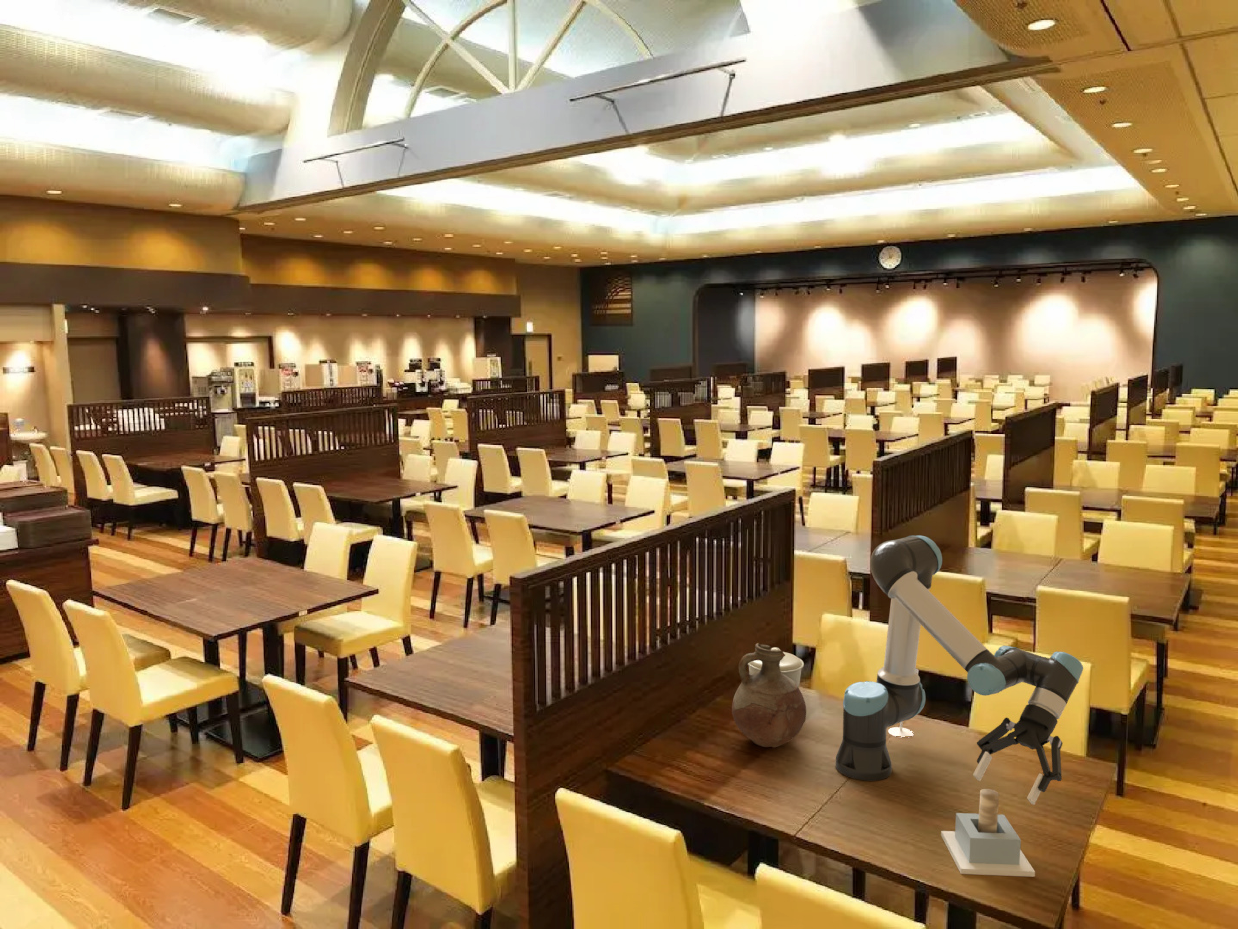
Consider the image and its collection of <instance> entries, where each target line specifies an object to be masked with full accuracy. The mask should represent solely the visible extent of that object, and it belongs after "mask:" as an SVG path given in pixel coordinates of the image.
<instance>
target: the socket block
mask: <svg viewBox="0 0 1238 929" xmlns="http://www.w3.org/2000/svg"><path fill="white" fill-rule="evenodd" d="M978 822H979V813H967V812H966V813H965V812H955V829H954V831H953V830H952V831H951V830H941V831H940V833H941V834H940V837H941V838H942V840H943V841H944V842H943V843H944V844H945V846H946V848H947V850H948V852H949V853H950V855H951V857H952V860H953V861H954V864H955V865H956V867H957V869H958V871H959V873H960V875H978V876H979V875H980V876H981V875H983V876H1002V877H1003V876H1007V877H1009V876H1010V877H1036V871H1035V870H1034V868H1033V867H1032V865H1031V863H1030V862H1029V861H1028V859H1027V857H1026V856H1025V854H1024V853H1023V851H1022V850H1021V846H1022V845H1021V844H1022V840H1021V838H1020V836H1019V835H1018V833H1017V832H1016V830H1015V829H1014V828H1013V826H1012V825H1011V823H1010V822H1009V820H1008V818H1007V817H1006V816H1005V814H999V813H998V820H997V833H979V832H978Z"/></svg>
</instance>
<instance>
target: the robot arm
mask: <svg viewBox="0 0 1238 929" xmlns="http://www.w3.org/2000/svg"><path fill="white" fill-rule="evenodd" d="M942 565H943V556H942V552H941V549H940V547H939V546H938V545H937V544H936V543H935V541H933V540H932V539H931V538H929V537H928V536H924V535H908V536H906V537H902V538H898V539H892V540H886V541H883V542H882V543H880V544H879V545H877V546H876V547H875V548H874V549H873V552H872V553H871V556H870V559H869V568H870V572H871V576H872V577H873V579H874V581H875V583H876V584H877V585H878V587H879V588H880V589H881V590H882V592H883V593H884V594H886V596H887V597H888V598H889V599H890V608H889V616H888V626H887V635H886V642H885V652H884V661H883V666H882V667H881V668H880V669H878V670H877V674H876V675H877V676H876V681H869V680H865V681H857V682H854V683H852V684H850V685H849V686H847V688H846V689H845V691H844V696H843V700H842V705H843V712H842V713H843V714H842V716H843V717H842V720H843V721H842V740H841V742H840V745H839V748H838V751H837V753H836V756H835V768H836V770H837V771H838V772H839V773H840V774H842V775H844V776H846V777H848V778H851V779H853V780H854V779H855V780H859V781H864V782H865V781H868V782H869V781H871V782H873V781H881V780H884V779H886V778H889V777H890V776H891V774H892V770H893V769H892V768H893V765H892V760H891V756H890V754H889V751H888V750H889V749H888V747H887V731H888V728H889V727H890V728H891V727H893V726H895V725H897V724H900V722H902V721H903V722H905V721H910V720H911V719H913V718H914V717H916V716H917V715H918V714H920V713H921V711H923V709H924V707H925V704H926V692H925V689H923V684H922V683H921V678H920V676H919V674H918V675H917V674H916V673H915V668H916V666H917V659H918V649H919V644H920V643H919V641H920V635H921V626H922V627H923V628H924V629H925V631H927V632H928V634H929V635H931V637H933V639H934V640H936V641H937V643H938V644H939V645H940V646H941V647H942V648H943V649H944V650H945V651H946V652H947V653H948V654H949V655H950V656H951V657H952V658H953V660H955V661H956V663H958V664H959V665H960V666H961V668H962V669H963V670H965V672H966V674H967V676H966V679H967V682H968V684H969V687H970V688H971V690H972V691H973V692H975V693H976V694H977V695H979V696H990V695H995V694H999V693H1000V692H1003V691H1004V690H1006V689H1008V688H1011V687H1014V686H1017V685H1019V684H1021V683H1024V684H1027V685H1029V686H1030V685H1031V686H1034V689H1033V691H1032V693H1031V696H1030V697H1029V699H1028V701H1027V704H1026V705H1025V707H1024V709H1023V710H1022V713H1021V714H1020V717H1019V719H1018V721H1017V722H1016V723H1015V722H1014V721H1012V720H1011V719H1010V718H1008V717H1004V719H1003V720H1002V722H1001V723H1000V724H998V726H997V727H995V728H994V729H992V730H991V731H990V732H988V733H987V734H985V735H984V736H983V737H982V738H981V739H979V740H978V741H977V742H976V745H977V746H978V748H979V749H980V750H981V752H980V754H979V755H978V757H977V759H976V763H977V765H976V768H975V770H974V771H973V774H972V775H973V777H974V778H975V779H976V780H977V781H979V782H981V780H982V779H983V776H984V775H985V772H986V770H987V768H988V767H989V765H990V763H991V761H992V759H993V757H992V755H993V754H995V753H997V752H999V751H1002V750H1004V749H1007V748H1009V747H1011V746H1013V745H1014V746H1016V745H1018V744H1020V745H1021V746H1022V747H1027V748H1029V749H1031V750H1035V751H1036V754H1037V757H1038V759H1039V764H1040V766H1041V771H1042V773H1043V774H1042V773H1040V772H1039V773H1038V775H1037V777H1036V779H1035V781H1034V782H1033V786H1031V789H1030V792H1028V795H1027V797H1026V799H1027V800H1028V801H1029V803H1030V804H1031V805H1034V806H1035V804H1036V803H1037V800H1038V798H1039V796H1040V794H1041V793H1044V792H1046V791H1047V789H1048V787H1049V784H1051V781H1057V782H1061V781H1062V780H1063V779H1062V778H1063V777H1062V776H1063V775H1062V764H1061V763H1062V761H1061V760H1062V759H1061V758H1062V757H1061V749H1062V747H1063V743H1064V742H1063V741H1062V740H1061V738H1060V737H1059V735H1055V736H1051V735H1052V734H1053V733H1054V730H1055V728H1056V727H1057V724H1058V723H1059V722H1058V720H1059V719H1060V718H1061V716H1062V714H1063V712H1064V711H1065V708H1066V706H1067V704H1068V702H1069V700H1070V698H1071V696H1072V694H1073V692H1074V690H1075V688H1076V687H1077V685H1078V684H1079V682H1080V679H1081V676H1082V674H1083V671H1084V666H1083V664H1082V662H1081V661H1080V660H1079V659H1078V658H1077V657H1075V656H1073V655H1072V654H1069V653H1067V652H1065V651H1055V652H1053V653H1052V654H1051V655H1050V656H1049V657H1045V656H1041V655H1038V654H1035V653H1032V652H1030V651H1026V650H1024V649H1021V648H1018V647H1015V646H1010V645H1001V646H1000V647H998V649H997V650H996V651H995V652H994V654H993V653H992V652H990V650H989V649H988V648H987V647H986V646H985V645H983V643H982V642H981V641H980V640H979V639H978V638H977V637H976V636H975V635H974V634H973V633H972V632H971V631H970V630H969V629H968V628H967V627H966V626H965V625H964V624H963V623H962V622H961V621H960V620H959V619H958V618H956V616H954V614H953V613H952V612H951V611H950V610H949V609H948V608H947V606H945V605H944V604H943V603H942V602H941V601H940V600H939V599H938V598H937V597H936V596H935V595H934V594H933V593H932V592H931V591H930V590H931V588H932V581H933V576H934V575H936V574H937V573H938V572H939V571H940V570H941V567H942ZM916 669H917V668H916ZM1012 730H1014V731H1012ZM1009 731H1010V732H1009ZM1011 731H1012V732H1011ZM1006 734H1007V735H1006ZM1004 735H1005V736H1004ZM1048 743H1049V745H1050V747H1051V748H1050V749H1051V750H1050V751H1051V767H1050V765H1049V762H1048V758H1047V755H1046V751H1045V747H1044V745H1045V744H1048ZM1051 769H1052V770H1051Z"/></svg>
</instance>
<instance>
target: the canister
mask: <svg viewBox="0 0 1238 929" xmlns="http://www.w3.org/2000/svg"><path fill="white" fill-rule="evenodd" d="M770 648H771V650H774V651H782V650H781V649H780V648H779V647H775V646H774V647H770ZM783 653H784V654H785V656H784V657H783V659H782V660H781V661H780V671H781V673H782V674H784V675H786V676H787V677H789V678H790V679H792V680H793V681H794V682H795V683H797V685H798V687H800V682H801V675H802V674H801V673H802V669H803V668H804V665H805V663H804V661H803V660H802V659H801V658H800V657H798V656H796V655H794V654H792V653H789V652H785V651H783ZM747 666H748V673H749V674H750V675H751V674H753V673H756V672H759V671H760V670H761V667H762V661H760V660H755V661H752V662H749V663H748V664H747Z"/></svg>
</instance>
